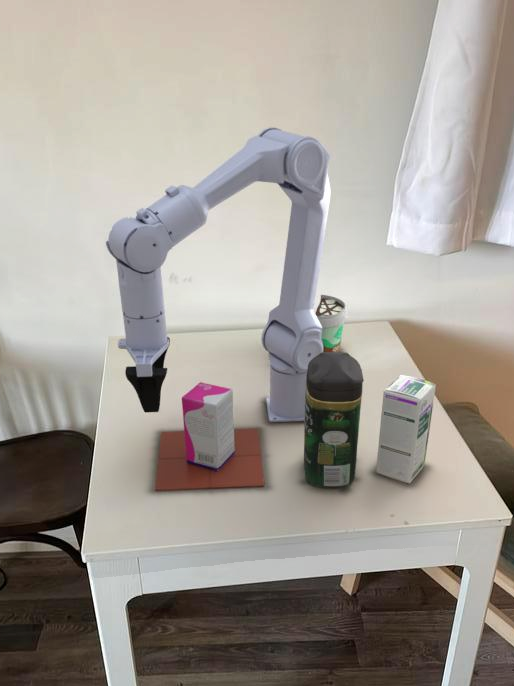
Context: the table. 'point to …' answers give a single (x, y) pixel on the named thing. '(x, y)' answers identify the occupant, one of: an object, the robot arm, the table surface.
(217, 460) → the supplement box
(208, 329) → the table surface
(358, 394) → the coffee jar
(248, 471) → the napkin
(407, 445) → the syrup box
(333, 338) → the food container
